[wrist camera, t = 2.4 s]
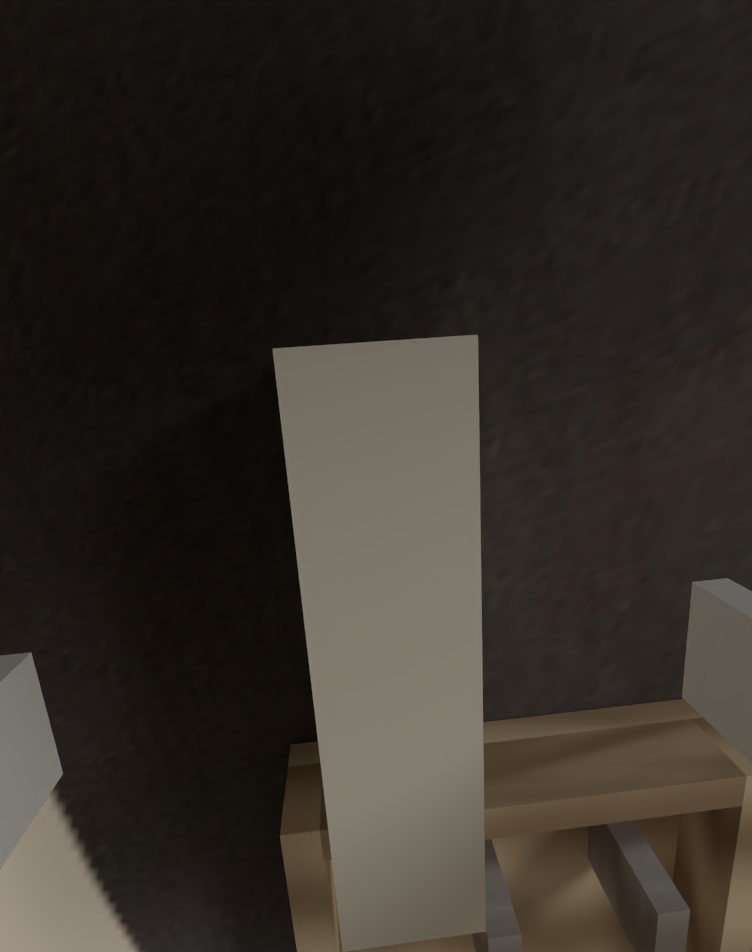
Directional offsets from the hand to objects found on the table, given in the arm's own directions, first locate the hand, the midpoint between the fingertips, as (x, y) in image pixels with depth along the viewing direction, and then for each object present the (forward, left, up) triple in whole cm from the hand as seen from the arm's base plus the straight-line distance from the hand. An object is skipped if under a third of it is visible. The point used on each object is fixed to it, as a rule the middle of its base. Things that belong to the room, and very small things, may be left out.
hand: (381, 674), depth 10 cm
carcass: (+17, +5, -7) cm, 19 cm away
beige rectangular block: (0, 0, -7) cm, 7 cm away
